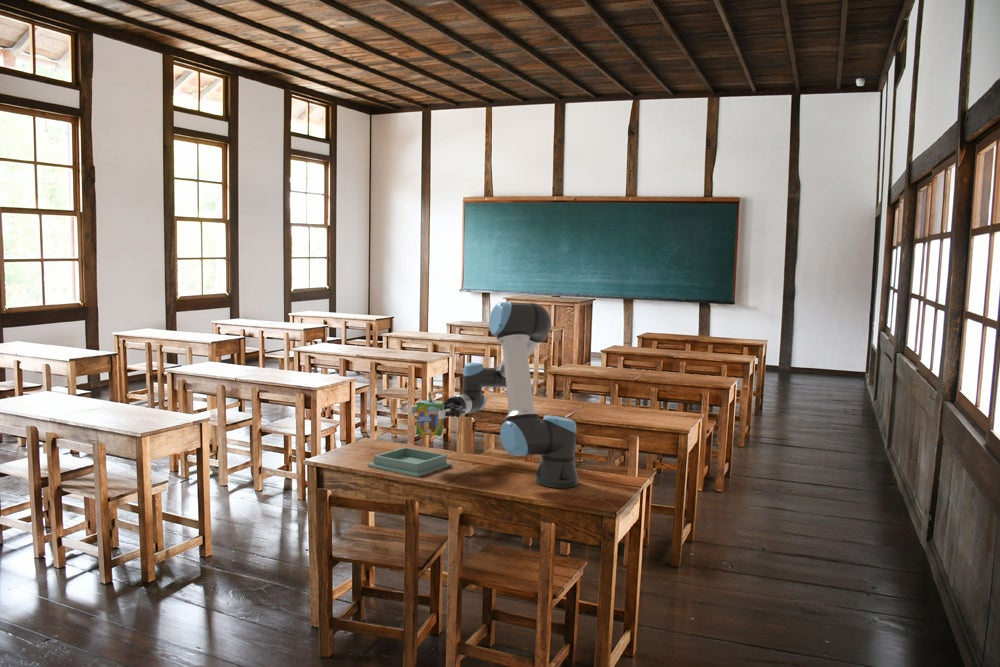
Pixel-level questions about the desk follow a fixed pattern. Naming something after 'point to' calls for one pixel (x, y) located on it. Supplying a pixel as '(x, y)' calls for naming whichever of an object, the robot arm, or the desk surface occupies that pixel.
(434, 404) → the chalk box
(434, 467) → the chalk holder
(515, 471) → the desk surface
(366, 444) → the desk surface
